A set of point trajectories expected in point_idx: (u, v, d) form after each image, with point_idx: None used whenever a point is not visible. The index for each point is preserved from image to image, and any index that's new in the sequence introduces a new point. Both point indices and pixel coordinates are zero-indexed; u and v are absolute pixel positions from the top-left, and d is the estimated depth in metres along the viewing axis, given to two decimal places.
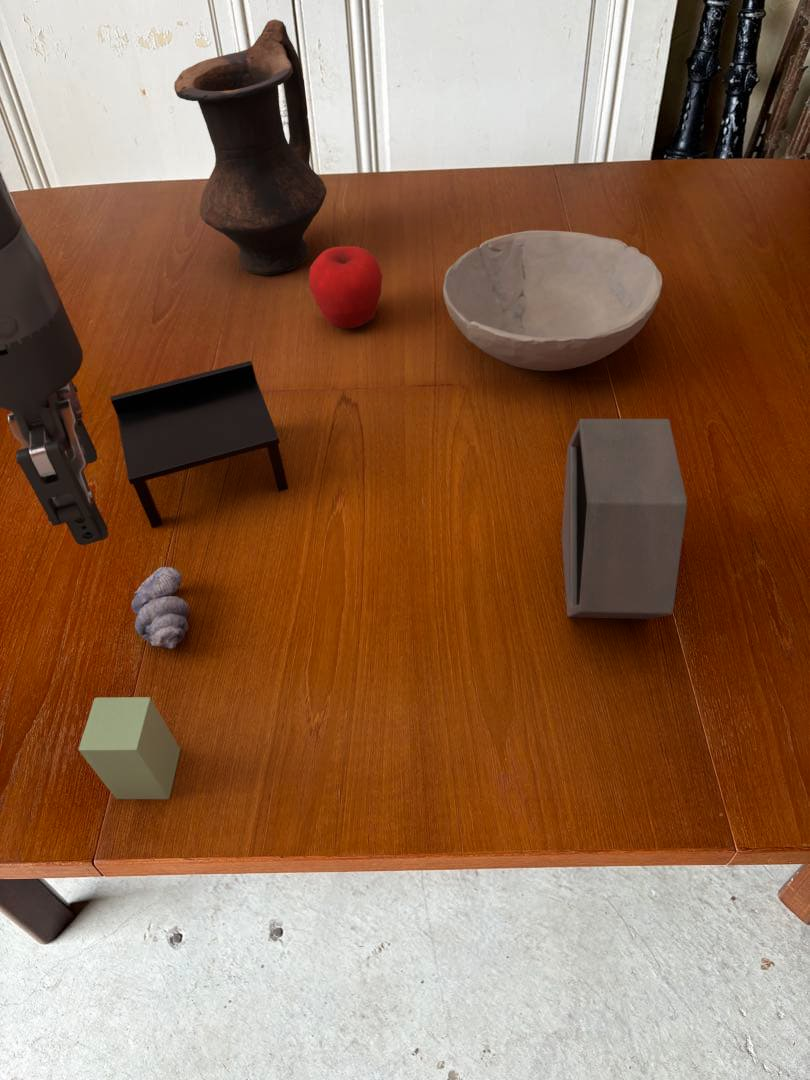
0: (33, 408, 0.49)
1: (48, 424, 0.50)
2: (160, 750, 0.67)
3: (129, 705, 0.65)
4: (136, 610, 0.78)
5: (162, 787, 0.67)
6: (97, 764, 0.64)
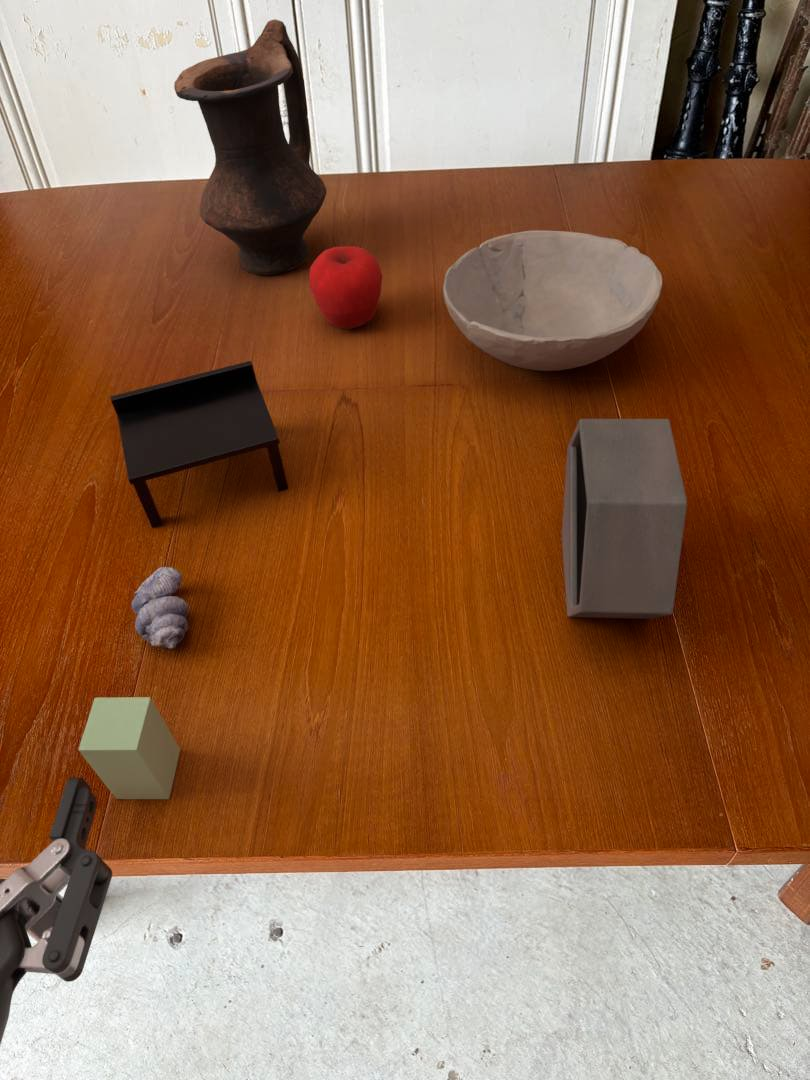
0: None
1: None
2: (160, 750, 0.67)
3: (129, 705, 0.65)
4: (136, 610, 0.78)
5: (162, 787, 0.67)
6: (97, 764, 0.64)
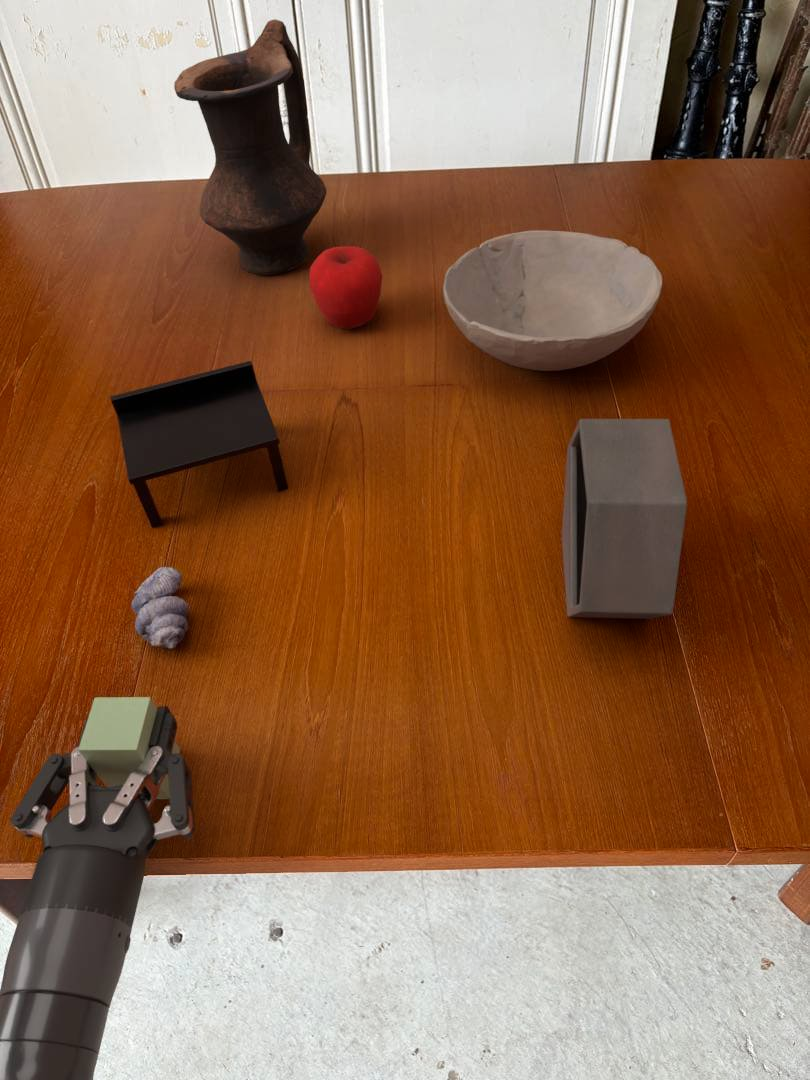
0: None
1: None
2: None
3: (129, 705, 0.65)
4: (136, 610, 0.78)
5: (162, 787, 0.67)
6: (97, 764, 0.64)
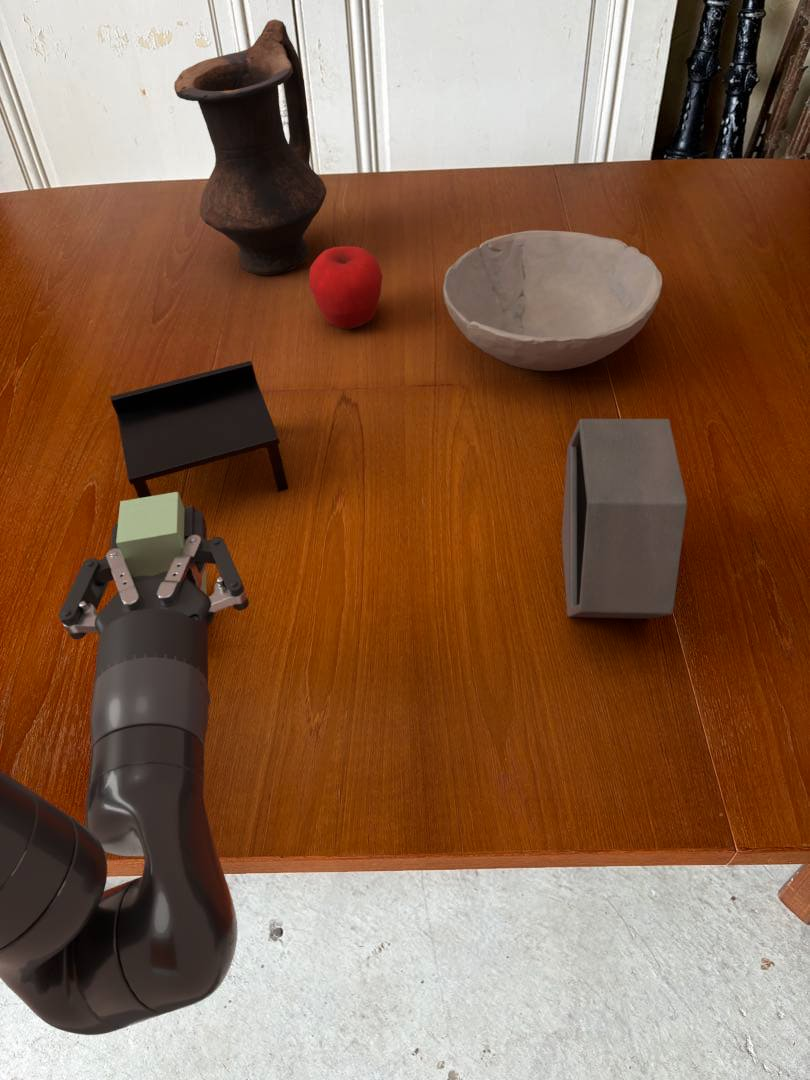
0: None
1: None
2: None
3: (158, 501, 0.64)
4: None
5: (200, 588, 0.67)
6: (135, 562, 0.63)
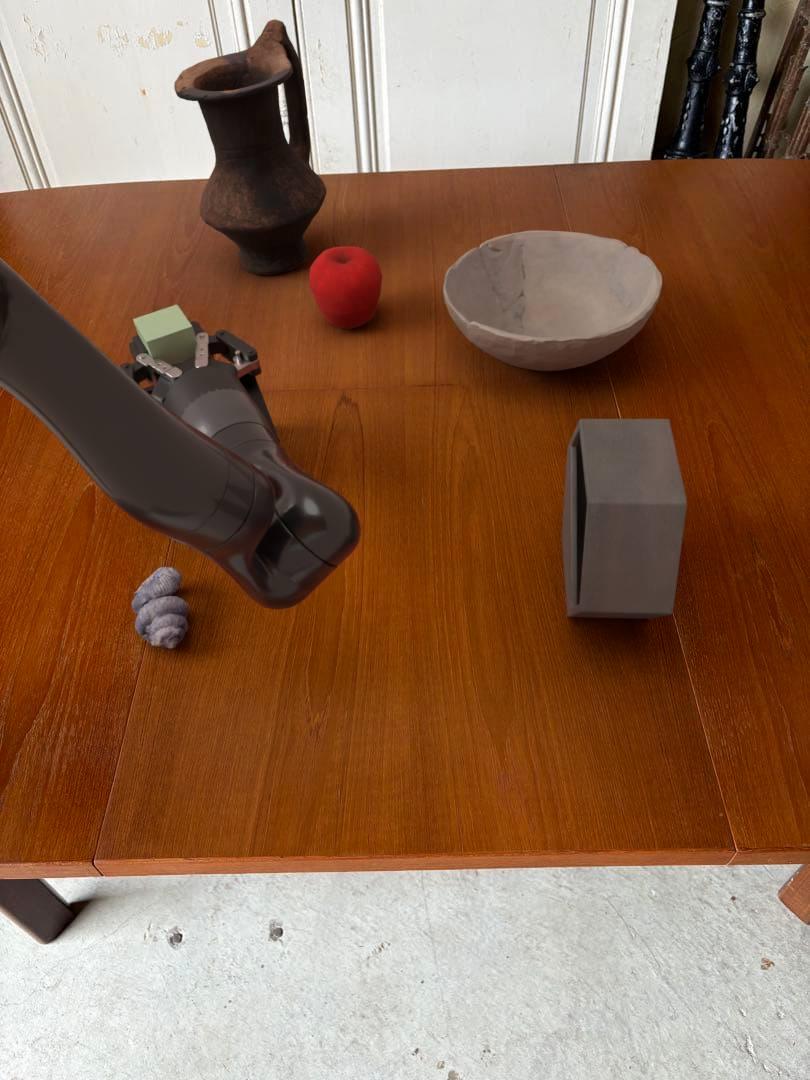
0: None
1: None
2: None
3: (164, 312, 0.80)
4: (136, 610, 0.78)
5: None
6: None
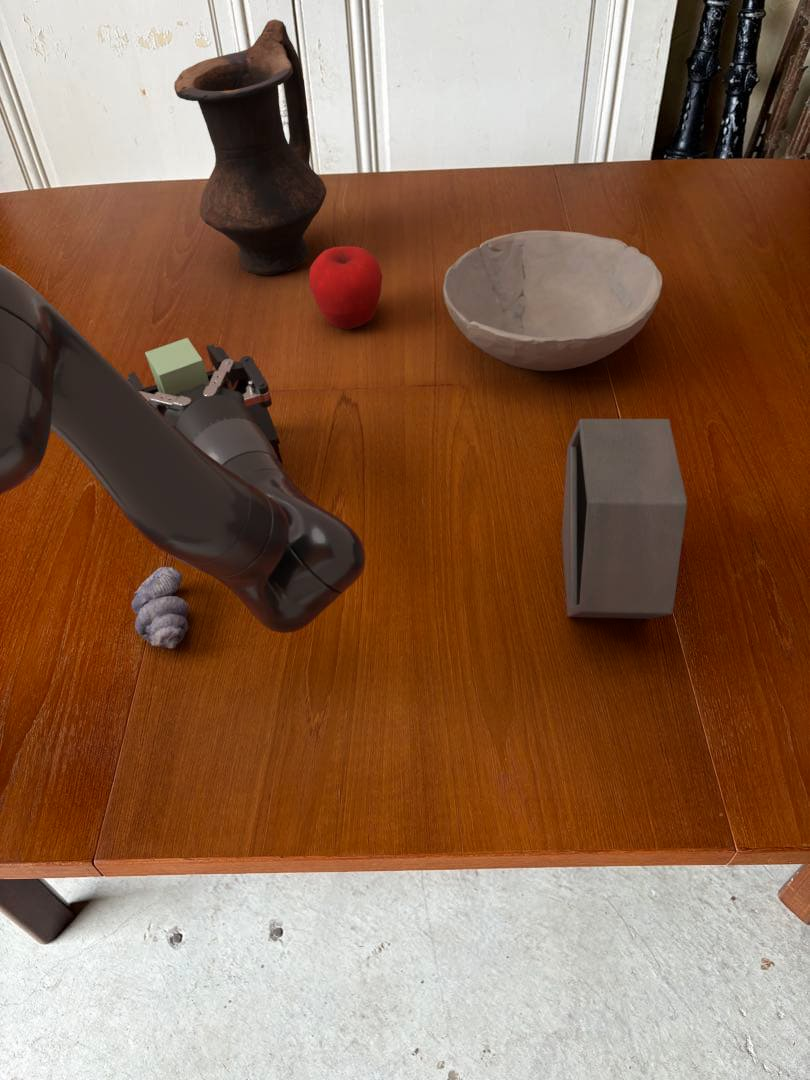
0: None
1: None
2: None
3: (175, 346, 0.83)
4: (136, 610, 0.78)
5: None
6: (172, 392, 0.82)
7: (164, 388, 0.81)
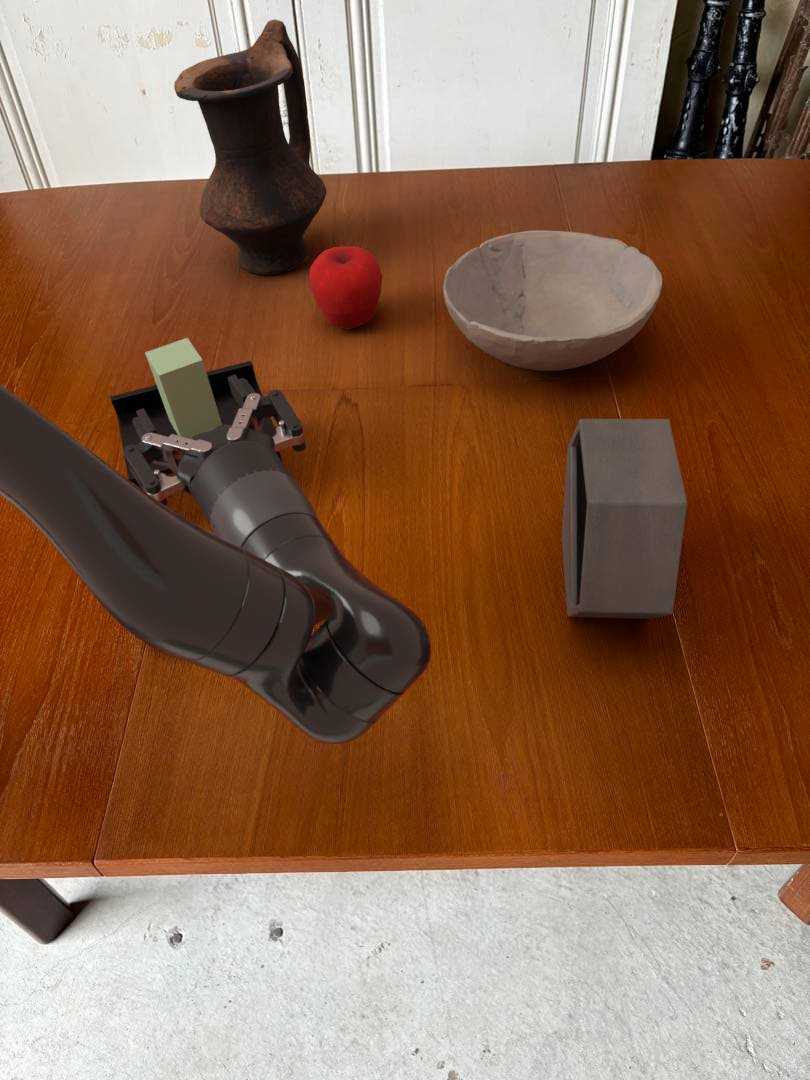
0: (192, 495, 0.65)
1: (185, 491, 0.66)
2: None
3: (175, 346, 0.83)
4: None
5: None
6: (172, 392, 0.82)
7: (164, 388, 0.81)
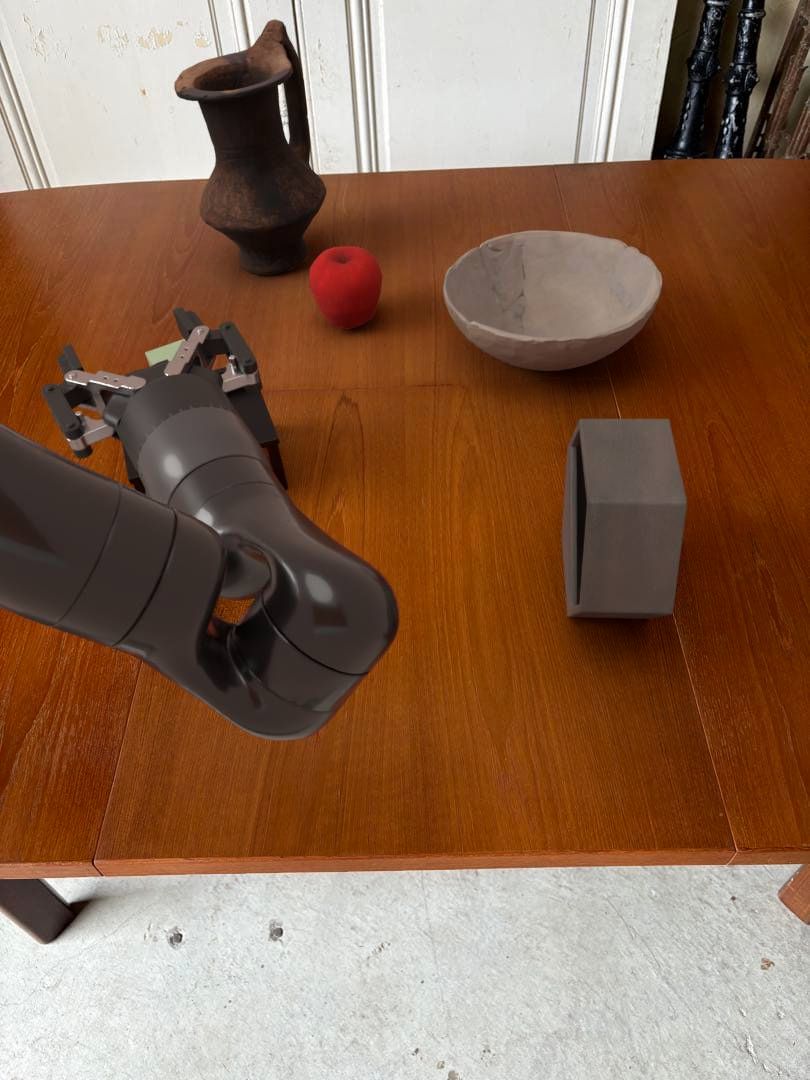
0: (121, 441, 0.54)
1: (114, 438, 0.55)
2: None
3: (175, 346, 0.83)
4: None
5: None
6: None
7: None
